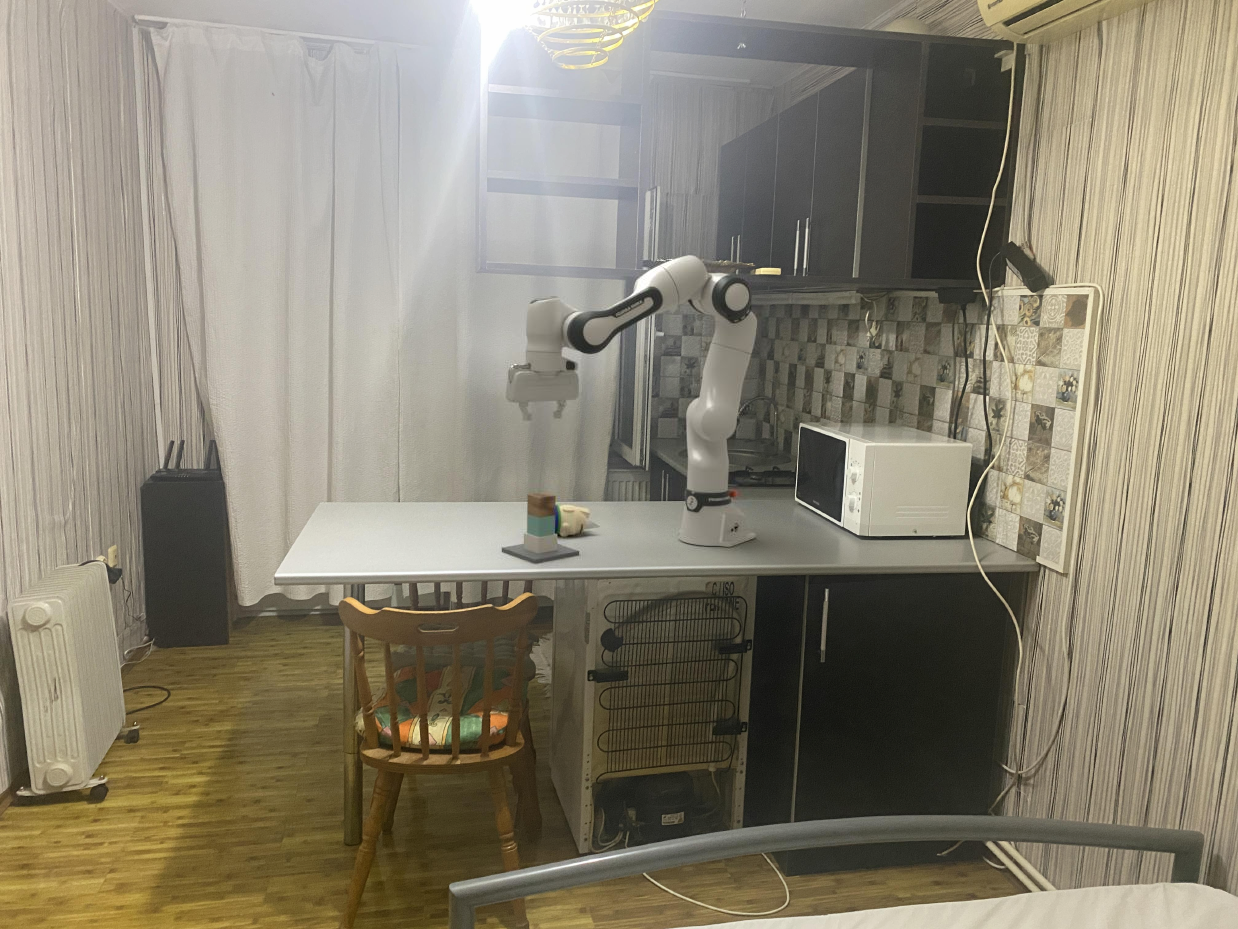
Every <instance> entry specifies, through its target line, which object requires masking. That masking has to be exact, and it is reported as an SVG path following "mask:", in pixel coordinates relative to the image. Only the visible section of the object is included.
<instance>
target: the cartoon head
mask: <svg viewBox="0 0 1238 929" xmlns="http://www.w3.org/2000/svg"><path fill="white" fill-rule="evenodd" d="M590 513H591V512H590V510H589V508H587V507H581V506H576V505H572V504H562V505H559V504H555V534H557V536H558V535H559V536H560V537H562V538H564V537H565V538H566V537H568V536H574V535H576V534H579V533H580V534H581V533H582V532H583V531H585V530H590V529H596V528H597V529H598V528H600V527H601V526H600V525H599V524H597V523H595V522H593V521H592V520H591V519H589V517H590Z"/></svg>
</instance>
